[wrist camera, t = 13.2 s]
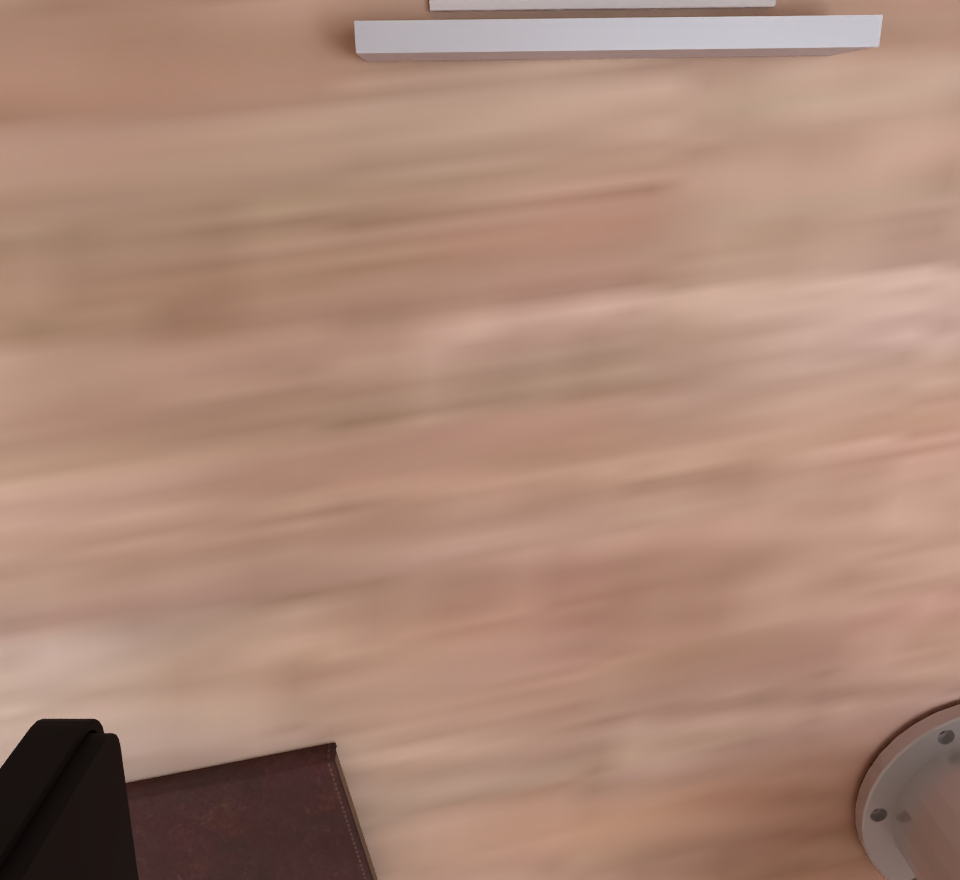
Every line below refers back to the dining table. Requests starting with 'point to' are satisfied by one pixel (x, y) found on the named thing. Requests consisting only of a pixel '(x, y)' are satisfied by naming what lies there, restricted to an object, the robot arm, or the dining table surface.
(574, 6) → the pad
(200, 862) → the notebook
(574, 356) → the dining table surface
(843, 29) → the acrylic wall
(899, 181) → the dining table surface
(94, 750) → the robot arm
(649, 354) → the dining table surface
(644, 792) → the dining table surface
